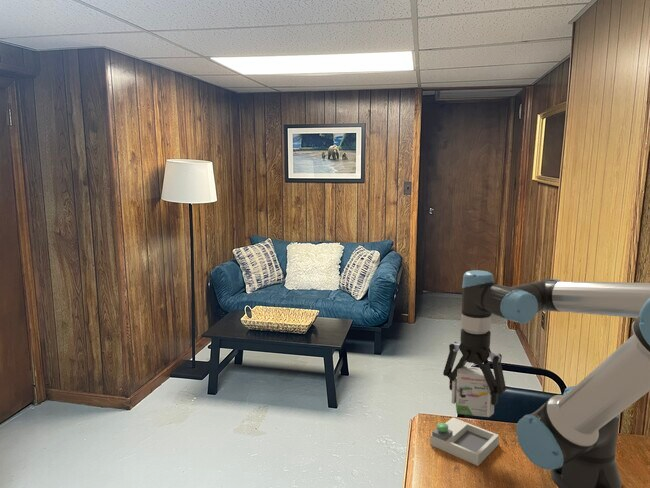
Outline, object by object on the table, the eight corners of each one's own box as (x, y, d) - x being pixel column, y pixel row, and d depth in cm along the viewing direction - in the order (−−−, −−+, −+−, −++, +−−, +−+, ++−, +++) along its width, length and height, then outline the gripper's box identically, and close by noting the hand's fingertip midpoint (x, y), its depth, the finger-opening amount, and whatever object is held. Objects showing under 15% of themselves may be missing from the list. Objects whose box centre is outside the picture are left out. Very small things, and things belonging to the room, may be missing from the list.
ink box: (456, 414, 128) (457, 373, 126) (455, 405, 133) (457, 365, 131) (489, 417, 126) (491, 376, 124) (487, 408, 131) (489, 368, 129)
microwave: (498, 444, 132) (499, 431, 131) (477, 465, 123) (478, 451, 123) (452, 426, 142) (452, 413, 141) (430, 444, 133) (430, 431, 132)
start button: (449, 433, 132) (450, 425, 132) (444, 438, 130) (444, 429, 129) (440, 429, 134) (440, 421, 134) (434, 434, 132) (434, 425, 131)
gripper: (523, 335, 121) (518, 416, 124) (445, 316, 136) (442, 390, 139) (511, 343, 115) (506, 428, 119) (431, 323, 130) (429, 399, 134)
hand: (472, 407), depth 129 cm, fingers closed on ink box, 9 cm apart
